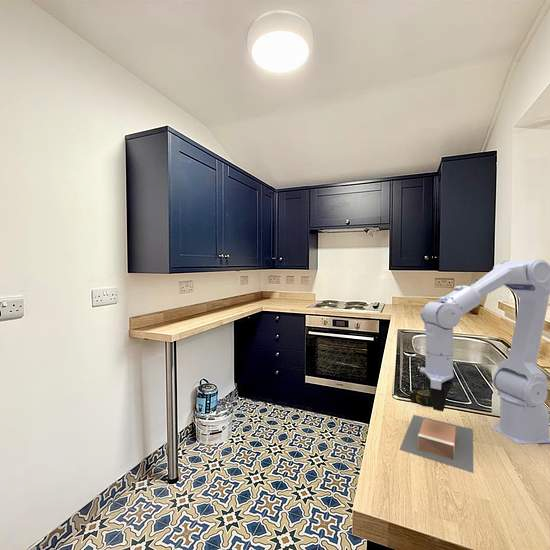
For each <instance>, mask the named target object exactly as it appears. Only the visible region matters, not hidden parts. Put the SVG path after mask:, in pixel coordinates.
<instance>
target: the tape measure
mask: <svg viewBox="0 0 550 550" xmlns="http://www.w3.org/2000/svg"><path fill="white" fill-rule="evenodd" d="M408 397H409V399H410V401H411V402H415V403H417V404H418V405H421V406H425V407H433V406H432V402H431V396H430V393H429V390H428V389H423V388H420V389H417V390H415V391H414V390H413V391H412V392H410V394H408Z"/></svg>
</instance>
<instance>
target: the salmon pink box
mask: <svg viewBox="0 0 550 550" xmlns="http://www.w3.org/2000/svg"><path fill="white" fill-rule="evenodd" d="M455 440H456V426H452V425H448V424H444V423H440V422H436V421H432V420H428V419H424V420H423V423H422V426H421V429H420V432H419V434H418V449H419V450H422V451H425V452H428V453H432V454H435V455H438V456H442V457H445V458H448V459H451V460H454V452H455Z"/></svg>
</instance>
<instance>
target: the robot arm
mask: <svg viewBox="0 0 550 550" xmlns="http://www.w3.org/2000/svg"><path fill="white" fill-rule="evenodd" d="M501 287H506V288H507V289H508V290H509V291H511V292H512V293H514V294H515V295H517V297H518V298H519V302H518V308H517V314H516V319H515V323H514V328H513V334H512V339H511V345H510V351H509V354H508V358H506V359H504V360H502V361H500V362H498V365H497V369H496V370H495V372H494V373H493V375H492V386H493V388H494V389H495V390H496V391H497V395H498V396H499V397H500V399H499V400H500V402H499V404H500V405H499V424H498V425H491V426H490V427H491V429H493V430H495V431H496V432H498V433H500V435H503V436H505V437H506V438H507V439H509V440H511V441H513V442H514V443H515V444H518V445H526V444H527V445H528V444H550V412H549V410H548V408H547V406H546V404H545V402H546V400H547V397H548V395H549V393H548V386H547V381H548V376H547V375H546V374H545V373H544V372H543V371H542V369H540V367H538V365H537V364H538V363H537V362H538V359H539V358H538V357H539V353H540V347H541V342H542V341H541V340H542V337H543V332H544V326H545V319H546V315H547V309H548V306H549V305H548V304H549V299H550V264H549V263H548V262H547V261H546V260H544V259H541V258H537V259H528V260H503V261H501V262H499V263H498V264H495V265H493V268H492V270H490V271H489V272H488V273H486V274H485V275H483V276H482V277H481V278H479V279H478V280H477V281H475V282H474V283H473V284H471V285H457V286H454V288H453V289H454V290H452V291H451V292H450V293H448V294H446V295H445V296H440V297H439V298H438V300H437V301H429V302H428V303H426V304H425V305H424V307H422V310H421V312H420V313H419V316H420V320H421V321H422V322H423V324H424V325H423V327H424V330H425V367H424V366H420V367H419V372H420V373H424V374H425V375H426V377H425V378H424V385H426V388H427V390H429V393H430V396H431V402H432V406H431V407H432V410H434V411H438V412H444V410H445V406H446V401H447V396H448V395H449V392H450V391H451V389H452V387H453V384H454V383H453V382H454V381H453V378H454V377H455V376H454V375H455V374H454V371H453V370H454V369H453V368H454V328H456V327H457V326H458V325H459V323H460V320H461V319H462V318H463V316H464V315H465V314H467V313H469V312H471V311H472V310H473V309H475V308H476V307H479V305H480V304H481V301H482V298H483V297H485V296H486V295H488V294H490V293H492V292H494V291H495V290H497V289H499V288H501Z"/></svg>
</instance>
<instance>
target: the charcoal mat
mask: <svg viewBox="0 0 550 550" xmlns="http://www.w3.org/2000/svg"><path fill="white" fill-rule="evenodd" d="M424 419H428V420H432V421H436V422H440V423H444V424H448V425H452V426H456V440H455V452H454V460H451V459H448V458H445V457H442V456H438V455H435V454H432V453H428V452H425V451H422V450H419V449H418V434H419V432H420V429H421V426H422V423H423V420H424ZM473 430H474V429H472V428H469V427H465V426H461V425H457V424H453V423H448V422H444V421H440V420H436V419H433V418H428V417H424V416H420V415H416V414H413V415H412V417H411V420H410V422H409V425H408V427H407V430H406V433H405V435H404V438H403V440H402V442H401V444H400V448H399V451H403V452H406V453H408V454H411V455H416V456H418V457H422V458H425V459H428V460H430V461H434V462H438V463H441V464H443V465H446V466H450V467H453V468H456V469H460V470H463V471H466V472H469V473H472V474H473V473H474V431H473Z"/></svg>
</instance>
